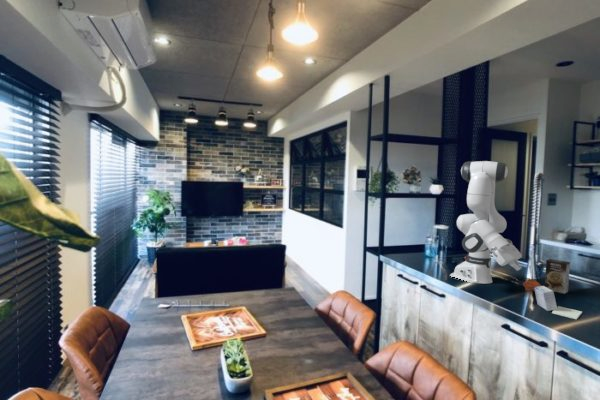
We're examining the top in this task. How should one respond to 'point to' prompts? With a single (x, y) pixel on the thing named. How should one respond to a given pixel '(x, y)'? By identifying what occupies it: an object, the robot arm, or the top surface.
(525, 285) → the pot
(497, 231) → the robot arm
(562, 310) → the sage mat
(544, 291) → the medicine box
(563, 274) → the coffee box
